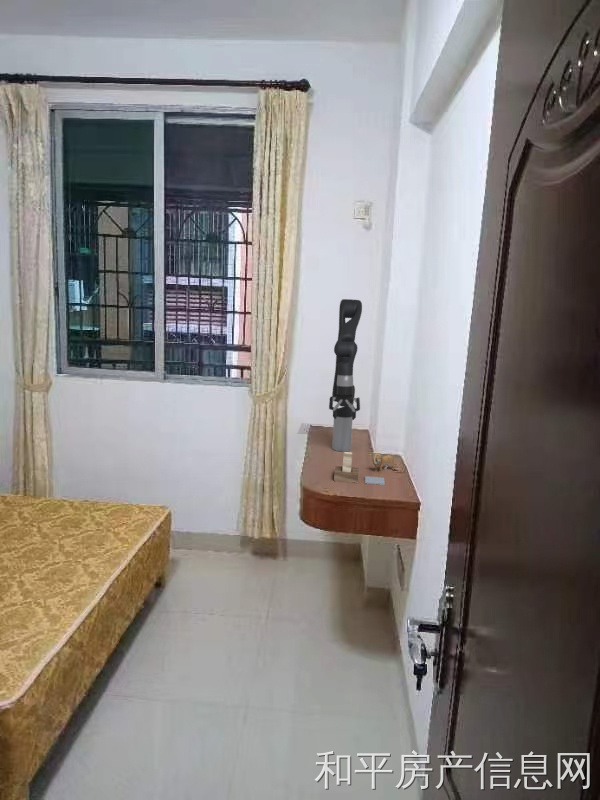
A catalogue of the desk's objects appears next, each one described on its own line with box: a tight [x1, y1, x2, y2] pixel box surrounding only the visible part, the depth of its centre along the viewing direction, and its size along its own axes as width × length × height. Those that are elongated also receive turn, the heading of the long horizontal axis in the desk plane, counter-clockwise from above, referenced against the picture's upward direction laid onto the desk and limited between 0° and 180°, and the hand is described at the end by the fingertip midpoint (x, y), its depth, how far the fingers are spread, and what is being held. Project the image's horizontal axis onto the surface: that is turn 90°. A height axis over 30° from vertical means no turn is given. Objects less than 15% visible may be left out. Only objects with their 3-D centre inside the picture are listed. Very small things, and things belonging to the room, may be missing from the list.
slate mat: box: [364, 475, 386, 486], centre depth 250 cm, size 8×8×1 cm
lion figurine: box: [371, 452, 396, 474], centre depth 265 cm, size 15×5×9 cm, turn 135°
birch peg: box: [342, 451, 353, 472], centre depth 251 cm, size 4×4×11 cm
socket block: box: [333, 465, 360, 484], centre depth 252 cm, size 10×10×4 cm
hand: (344, 419), depth 277 cm, fingers open, 8 cm apart
